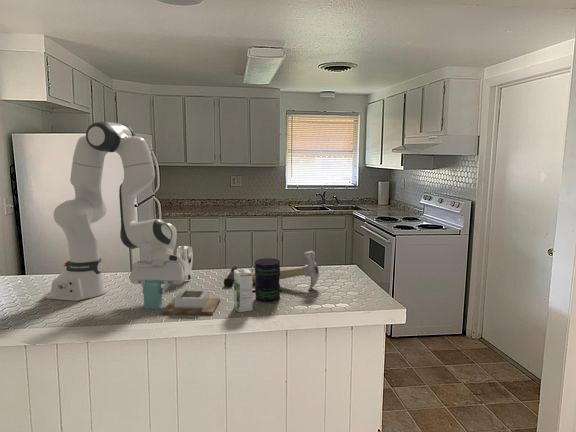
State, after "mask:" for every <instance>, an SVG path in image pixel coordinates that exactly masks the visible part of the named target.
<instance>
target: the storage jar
mask: <svg viewBox="0 0 576 432" xmlns="http://www.w3.org/2000/svg"><path fill="white" fill-rule="evenodd" d="M280 263H281V261H280V259H278V258H259V259H256V260H255V261H254V273H255V276H256V283H255V287H254V293H255V301H256V302H258V303H265V304H266V303H267V304H268V303H270V304H271V303H276V302H279V301H280V300H281V284H280V280H279V276H280V270H281V265H280Z"/></svg>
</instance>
